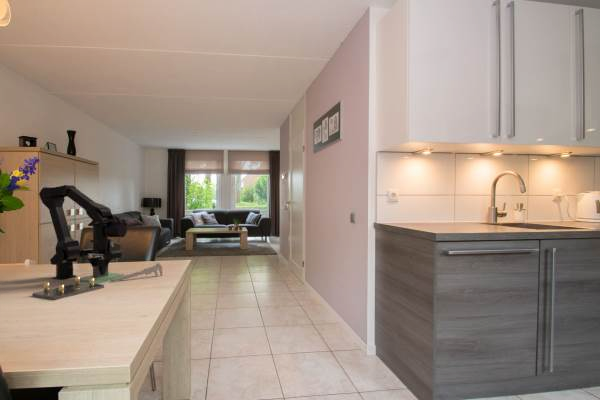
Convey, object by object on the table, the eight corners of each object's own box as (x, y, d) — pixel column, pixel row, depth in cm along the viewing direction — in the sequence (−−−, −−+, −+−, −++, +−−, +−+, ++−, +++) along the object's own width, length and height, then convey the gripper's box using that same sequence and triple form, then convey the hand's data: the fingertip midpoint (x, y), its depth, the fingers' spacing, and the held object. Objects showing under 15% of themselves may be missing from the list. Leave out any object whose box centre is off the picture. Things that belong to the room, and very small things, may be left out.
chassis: (32, 296, 121) (32, 284, 121) (82, 284, 137) (82, 274, 137) (54, 300, 116) (54, 287, 116) (104, 287, 133) (104, 277, 133)
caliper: (161, 276, 154) (161, 261, 154) (162, 276, 153) (162, 262, 153) (109, 282, 142) (109, 267, 142) (109, 283, 141) (109, 267, 141)
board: (75, 281, 142) (75, 267, 142) (106, 275, 155) (106, 262, 155) (93, 284, 138) (93, 269, 138) (124, 277, 151) (124, 263, 151)
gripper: (133, 236, 150) (133, 272, 150) (102, 234, 158) (102, 269, 158) (109, 238, 140) (109, 277, 140) (78, 236, 147) (78, 274, 147)
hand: (100, 274), depth 146 cm, fingers closed on board, 3 cm apart
